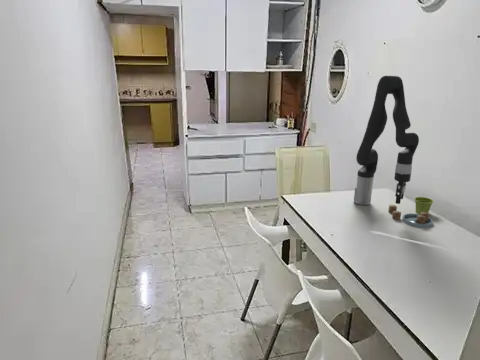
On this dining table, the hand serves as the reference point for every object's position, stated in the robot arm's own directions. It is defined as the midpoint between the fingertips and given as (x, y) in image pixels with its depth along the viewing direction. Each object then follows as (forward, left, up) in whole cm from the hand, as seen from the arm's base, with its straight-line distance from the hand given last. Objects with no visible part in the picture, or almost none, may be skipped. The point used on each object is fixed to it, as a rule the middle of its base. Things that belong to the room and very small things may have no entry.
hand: (399, 201), depth 182 cm
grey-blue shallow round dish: (+10, +2, -11) cm, 15 cm away
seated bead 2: (+13, +4, -10) cm, 17 cm away
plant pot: (+10, +16, -11) cm, 22 cm away
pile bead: (-4, +8, -11) cm, 14 cm away
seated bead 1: (+12, -2, -10) cm, 15 cm away
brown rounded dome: (0, 0, -11) cm, 11 cm away
